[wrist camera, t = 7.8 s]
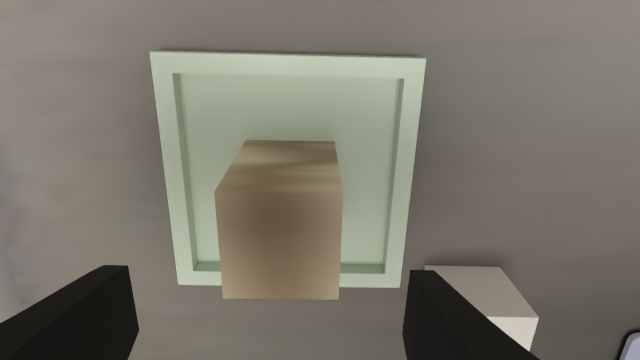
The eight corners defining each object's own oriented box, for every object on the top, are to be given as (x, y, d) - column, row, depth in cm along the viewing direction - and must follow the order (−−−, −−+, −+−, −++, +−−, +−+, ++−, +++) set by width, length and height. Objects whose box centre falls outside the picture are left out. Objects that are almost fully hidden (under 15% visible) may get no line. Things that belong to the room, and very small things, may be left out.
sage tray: (418, 56, 17) (426, 58, 16) (395, 273, 21) (399, 287, 20) (160, 50, 17) (149, 51, 16) (185, 270, 21) (178, 284, 20)
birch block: (334, 141, 18) (343, 193, 12) (331, 220, 19) (338, 299, 14) (245, 139, 18) (213, 191, 12) (249, 219, 19) (223, 298, 14)
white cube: (499, 266, 21) (538, 317, 17) (485, 326, 23) (519, 385, 19) (424, 264, 21) (448, 315, 17) (415, 325, 22) (435, 384, 19)
